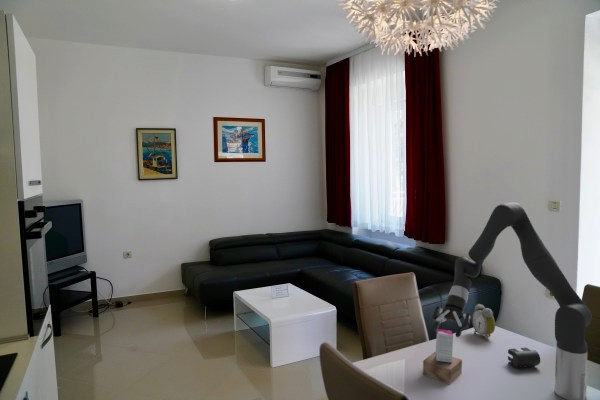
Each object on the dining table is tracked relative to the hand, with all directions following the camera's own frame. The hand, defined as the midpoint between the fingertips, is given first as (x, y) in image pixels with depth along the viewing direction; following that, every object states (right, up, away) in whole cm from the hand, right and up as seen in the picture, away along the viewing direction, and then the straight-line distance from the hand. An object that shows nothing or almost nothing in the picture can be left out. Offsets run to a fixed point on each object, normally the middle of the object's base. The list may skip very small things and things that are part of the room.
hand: (446, 333), depth 165 cm
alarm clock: (+31, -13, +34) cm, 48 cm away
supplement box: (-2, -10, -3) cm, 10 cm away
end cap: (+33, -15, +4) cm, 37 cm away
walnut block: (-2, -16, -2) cm, 16 cm away
